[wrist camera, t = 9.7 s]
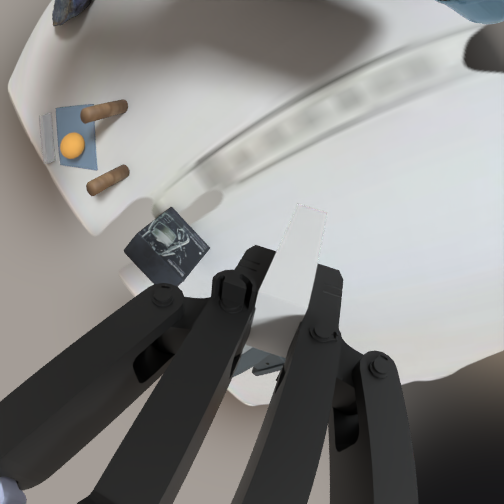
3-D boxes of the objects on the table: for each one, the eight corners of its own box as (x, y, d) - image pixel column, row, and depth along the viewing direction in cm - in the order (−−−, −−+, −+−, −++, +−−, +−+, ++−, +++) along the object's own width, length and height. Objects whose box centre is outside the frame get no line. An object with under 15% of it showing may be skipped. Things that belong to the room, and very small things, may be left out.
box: (212, 247, 50) (184, 282, 42) (192, 263, 54) (164, 297, 46) (171, 204, 48) (136, 232, 40) (155, 223, 52) (121, 252, 44)
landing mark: (56, 108, 44) (55, 108, 43) (94, 104, 41) (93, 104, 41) (61, 164, 52) (60, 164, 52) (97, 169, 49) (96, 170, 49)
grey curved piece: (250, 265, 50) (187, 378, 31) (308, 326, 54) (277, 438, 34) (213, 288, 56) (151, 385, 37) (269, 341, 60) (231, 439, 41)
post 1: (117, 99, 39) (80, 108, 32) (128, 99, 39) (90, 107, 32) (117, 113, 41) (80, 123, 34) (127, 113, 40) (90, 123, 33)
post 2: (119, 164, 47) (85, 180, 40) (129, 165, 46) (95, 182, 39) (120, 176, 48) (87, 194, 41) (129, 178, 48) (97, 197, 41)
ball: (58, 137, 40) (84, 131, 42) (59, 134, 43) (83, 128, 46) (61, 164, 43) (86, 157, 45) (61, 159, 46) (85, 153, 49)
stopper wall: (47, 113, 45) (39, 115, 43) (51, 112, 45) (43, 115, 43) (51, 159, 52) (43, 163, 50) (55, 160, 52) (47, 163, 50)
